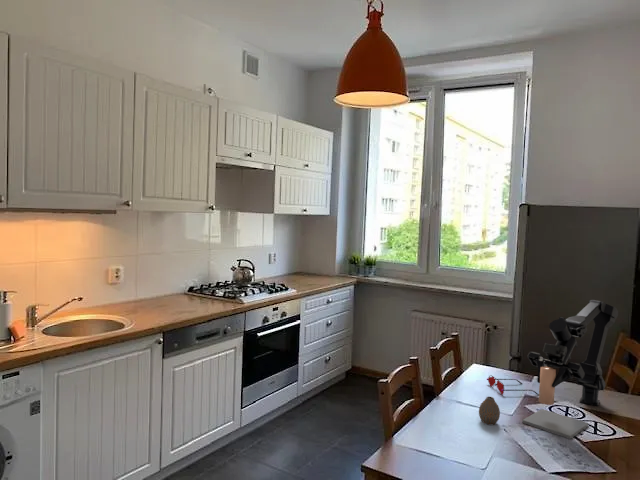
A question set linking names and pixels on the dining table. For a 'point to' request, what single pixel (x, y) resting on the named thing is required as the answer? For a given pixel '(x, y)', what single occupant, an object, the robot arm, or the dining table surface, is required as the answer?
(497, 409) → the vase
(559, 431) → the tile
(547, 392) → the tan cylinder
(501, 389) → the glasses
